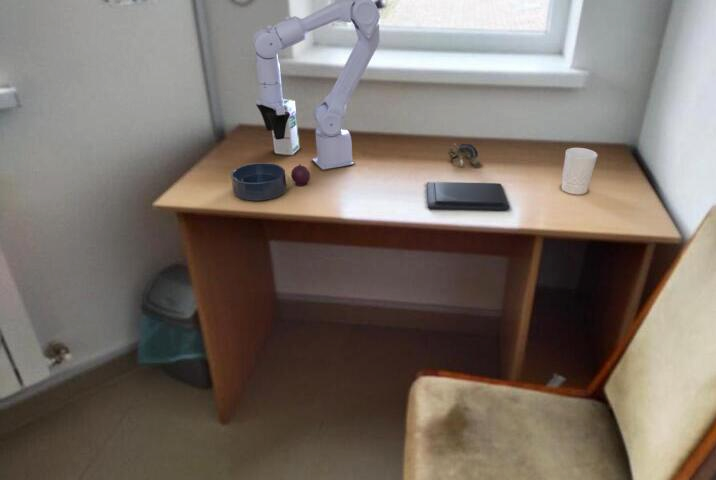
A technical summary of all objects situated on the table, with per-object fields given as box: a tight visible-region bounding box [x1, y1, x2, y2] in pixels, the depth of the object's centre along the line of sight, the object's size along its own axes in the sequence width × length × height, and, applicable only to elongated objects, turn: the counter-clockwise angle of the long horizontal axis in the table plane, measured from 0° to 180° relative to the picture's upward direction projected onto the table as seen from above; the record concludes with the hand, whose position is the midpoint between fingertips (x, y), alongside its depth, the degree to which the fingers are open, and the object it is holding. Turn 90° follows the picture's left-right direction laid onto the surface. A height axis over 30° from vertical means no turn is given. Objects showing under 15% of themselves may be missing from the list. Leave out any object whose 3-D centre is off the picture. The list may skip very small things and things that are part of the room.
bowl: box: [230, 162, 288, 201], centre depth 140 cm, size 13×13×5 cm
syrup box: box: [271, 98, 301, 156], centre depth 161 cm, size 6×6×14 cm
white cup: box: [561, 147, 599, 195], centre depth 145 cm, size 8×8×10 cm
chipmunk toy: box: [446, 143, 482, 168], centre depth 158 cm, size 8×7×9 cm
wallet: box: [426, 181, 510, 212], centre depth 141 cm, size 20×2×15 cm
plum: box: [290, 163, 311, 187], centre depth 144 cm, size 5×5×6 cm
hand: (275, 134), depth 149 cm, fingers open, 7 cm apart
